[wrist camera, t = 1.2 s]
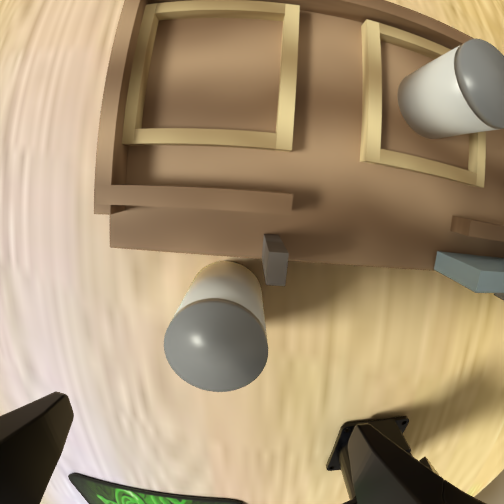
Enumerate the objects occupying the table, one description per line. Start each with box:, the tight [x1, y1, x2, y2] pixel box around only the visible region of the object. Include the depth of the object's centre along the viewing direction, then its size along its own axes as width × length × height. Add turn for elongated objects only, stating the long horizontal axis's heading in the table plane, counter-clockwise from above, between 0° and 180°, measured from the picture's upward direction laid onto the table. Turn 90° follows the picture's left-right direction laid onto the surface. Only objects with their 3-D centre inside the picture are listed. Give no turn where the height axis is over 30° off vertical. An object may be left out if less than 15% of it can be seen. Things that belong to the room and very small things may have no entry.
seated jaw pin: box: [397, 39, 504, 139], centre depth 12 cm, size 4×4×7 cm
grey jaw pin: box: [164, 261, 268, 392], centre depth 15 cm, size 4×4×7 cm
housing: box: [94, 0, 504, 286], centre depth 14 cm, size 16×31×6 cm, turn 86°
